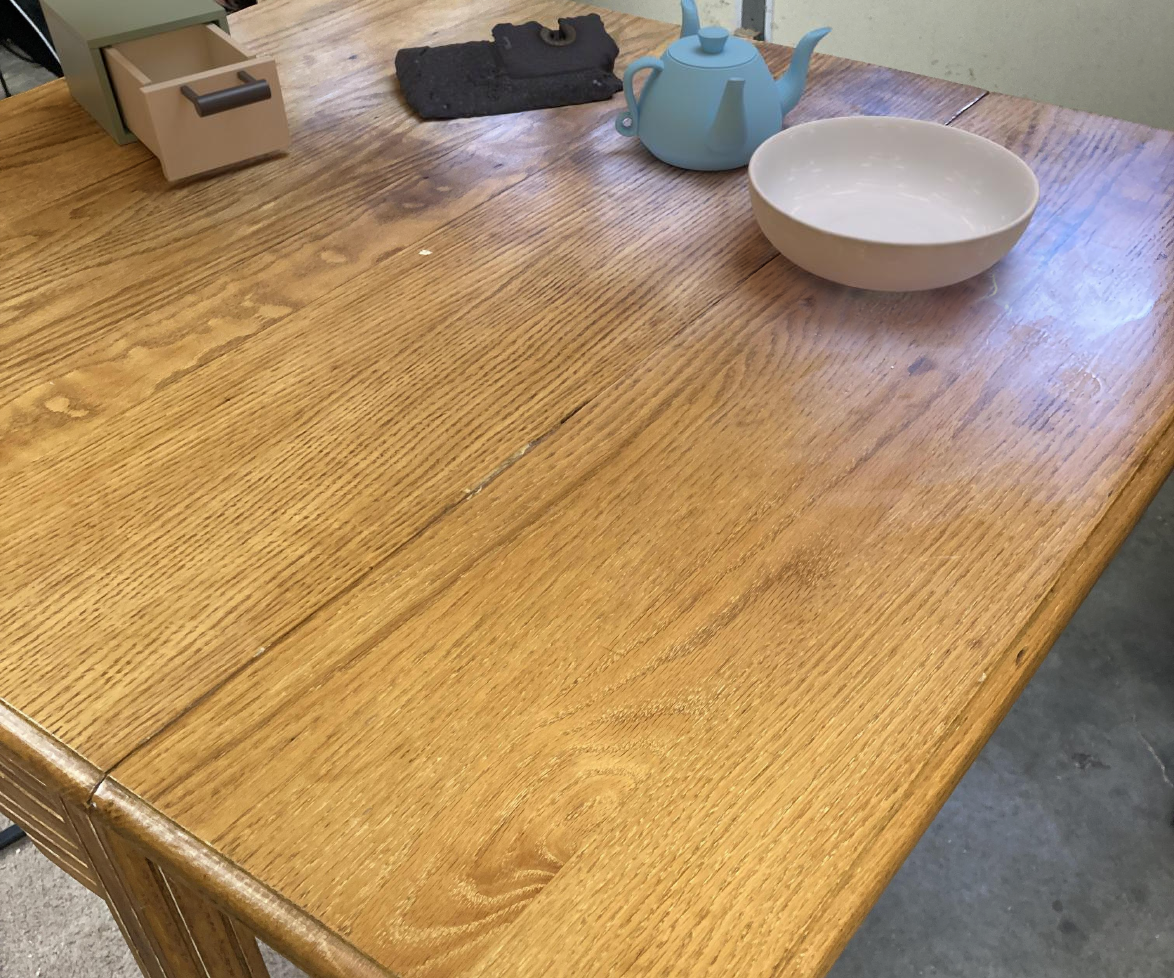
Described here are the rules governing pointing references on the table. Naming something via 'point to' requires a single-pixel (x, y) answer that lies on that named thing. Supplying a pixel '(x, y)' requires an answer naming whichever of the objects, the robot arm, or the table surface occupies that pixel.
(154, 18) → the cabinet
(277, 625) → the table surface
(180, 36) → the drawer
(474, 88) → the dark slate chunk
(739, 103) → the teapot
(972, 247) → the serving bowl
